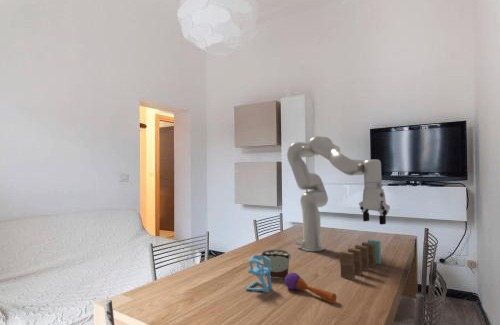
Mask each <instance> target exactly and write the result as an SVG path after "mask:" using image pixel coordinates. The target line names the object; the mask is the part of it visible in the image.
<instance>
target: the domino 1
mask: <svg viewBox="0 0 500 325" xmlns="http://www.w3.org/2000/svg"><path fill="white" fill-rule="evenodd" d="M339 258H340V260H339V262H340V278H345V279H348V280H353V281H354V280H355V279H356V274H355V264H354V253H351V252H348V251H344V250H340V252H339Z"/></svg>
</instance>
